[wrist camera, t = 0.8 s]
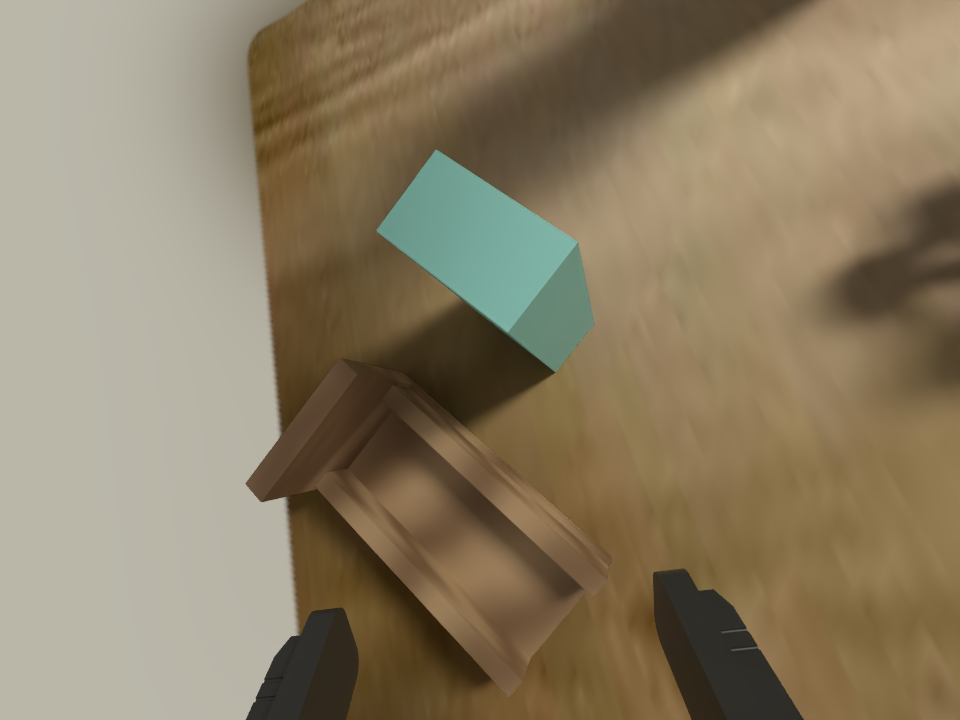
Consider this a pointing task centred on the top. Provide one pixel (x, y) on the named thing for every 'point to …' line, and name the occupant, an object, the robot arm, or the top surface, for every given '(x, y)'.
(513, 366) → the top surface
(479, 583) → the brown wooden drawer
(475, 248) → the teal rectangular block
